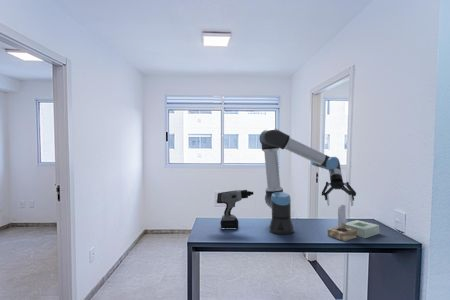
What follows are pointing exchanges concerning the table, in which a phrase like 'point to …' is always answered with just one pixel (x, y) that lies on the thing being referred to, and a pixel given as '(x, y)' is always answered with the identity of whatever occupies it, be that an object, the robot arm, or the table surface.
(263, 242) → the table surface
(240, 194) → the cordless drill
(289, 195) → the robot arm
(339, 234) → the maple sleeve
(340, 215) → the cylinder
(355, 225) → the sage rack
